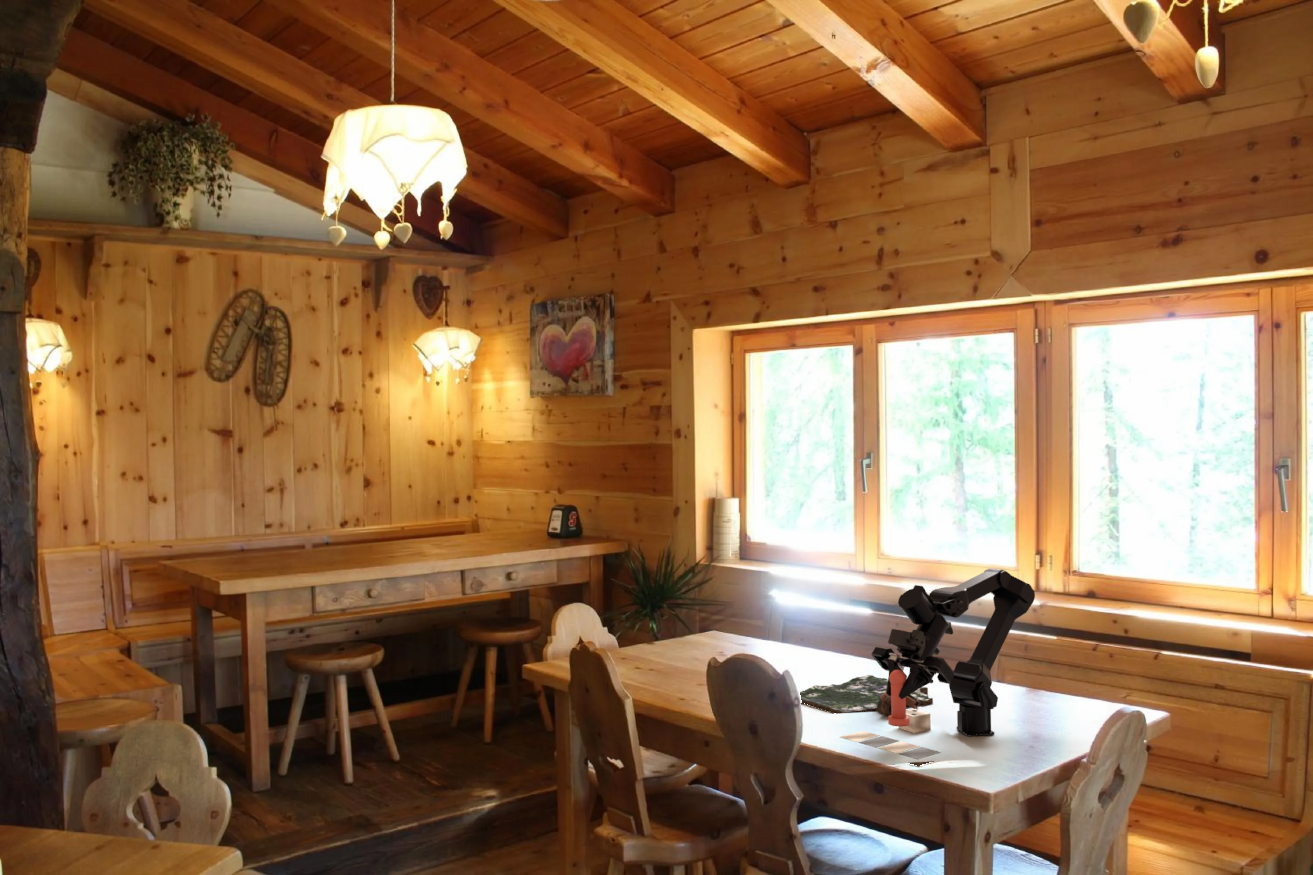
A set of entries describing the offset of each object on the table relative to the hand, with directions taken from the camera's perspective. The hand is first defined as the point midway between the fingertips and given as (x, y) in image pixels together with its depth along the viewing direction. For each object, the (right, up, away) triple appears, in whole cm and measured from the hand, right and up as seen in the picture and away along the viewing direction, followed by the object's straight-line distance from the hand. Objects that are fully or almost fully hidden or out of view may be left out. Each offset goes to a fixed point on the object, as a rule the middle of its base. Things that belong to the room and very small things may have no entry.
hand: (894, 696), depth 221 cm
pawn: (+1, -6, +1) cm, 6 cm away
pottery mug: (+7, -13, +29) cm, 33 cm away
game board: (0, -12, +3) cm, 13 cm away
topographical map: (+4, -13, +48) cm, 50 cm away
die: (+8, -12, +15) cm, 21 cm away
